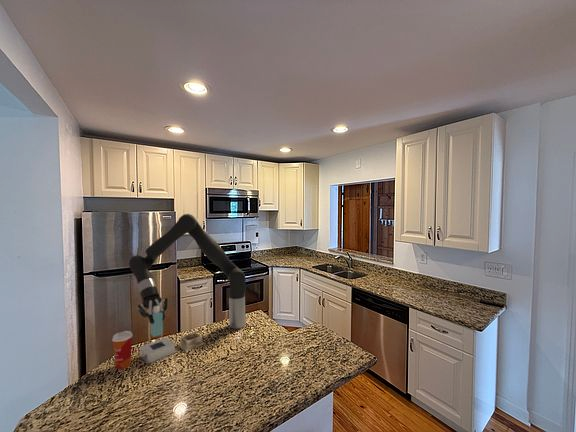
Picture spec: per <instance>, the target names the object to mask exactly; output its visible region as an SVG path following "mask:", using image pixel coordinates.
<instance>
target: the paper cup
mask: <svg viewBox="0 0 576 432" xmlns="http://www.w3.org/2000/svg"><path fill="white" fill-rule="evenodd" d="M133 335H134V334H133V332H132V331H130V330H123V331H120V332H117V333H115V334H114V335H113V336H112V339H111V341H112V345H113V354H114V364H115V366H114V367H115V369H116V370H118V369H121V370H124V369H123V368H125V369H127V368H128V367H130V366H131V364H132V363H131V362H132V349H133V348H132V346H133V343H132V342H133Z"/></svg>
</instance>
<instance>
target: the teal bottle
mask: <svg viewBox="0 0 576 432" xmlns="http://www.w3.org/2000/svg"><path fill="white" fill-rule="evenodd" d="M152 310H153V311H151V315H152V316H153V319H154V323H153V324H151V323H150V326H149V328H150V335H151V337H153V338H155V337H158V336H161V335H164V333H163V332H164V321H163V313H162V312H161V311H160V309H159V306H154V307H153V309H152Z"/></svg>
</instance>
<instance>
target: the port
mask: <svg viewBox="0 0 576 432" xmlns="http://www.w3.org/2000/svg"><path fill="white" fill-rule="evenodd" d="M174 354H176V345H175V343H174V342H173V341H171V340H170V339H169V338H168V337H164V338H161V339H158V340H155V341H152V342H150V343H148V344H144V345H141V346H140V347H139V357H140V359H141V360H142V362H143V363H144V364H146V365H147V367H148V366H150V365H152V363H155V362H157V361H159V360H160V359H164V358H166V357H168V356H170V355H174Z"/></svg>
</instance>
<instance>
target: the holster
mask: <svg viewBox="0 0 576 432" xmlns="http://www.w3.org/2000/svg"><path fill="white" fill-rule="evenodd" d="M179 338H180V342H179V343H177V346H178V347H180V348H181V349H182V350H183V351H185V352H188V351H191V350H194V349H196V348H198V347H201V346H203V345H205V344H206V343H205V342H204V341H203V337H202V336H201V334H199V333H197V332H196V331H194V332H190V333H187V334H185V335H183V336H180V337H179Z"/></svg>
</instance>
